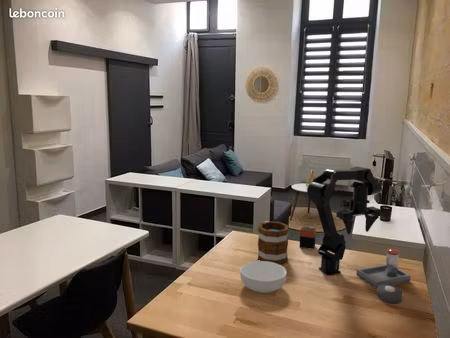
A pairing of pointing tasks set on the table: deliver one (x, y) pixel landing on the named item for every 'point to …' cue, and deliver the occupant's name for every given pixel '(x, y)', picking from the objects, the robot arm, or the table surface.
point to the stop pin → (392, 262)
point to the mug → (273, 242)
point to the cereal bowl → (263, 276)
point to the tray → (381, 276)
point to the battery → (307, 237)
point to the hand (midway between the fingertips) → (357, 232)
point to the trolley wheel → (389, 293)
